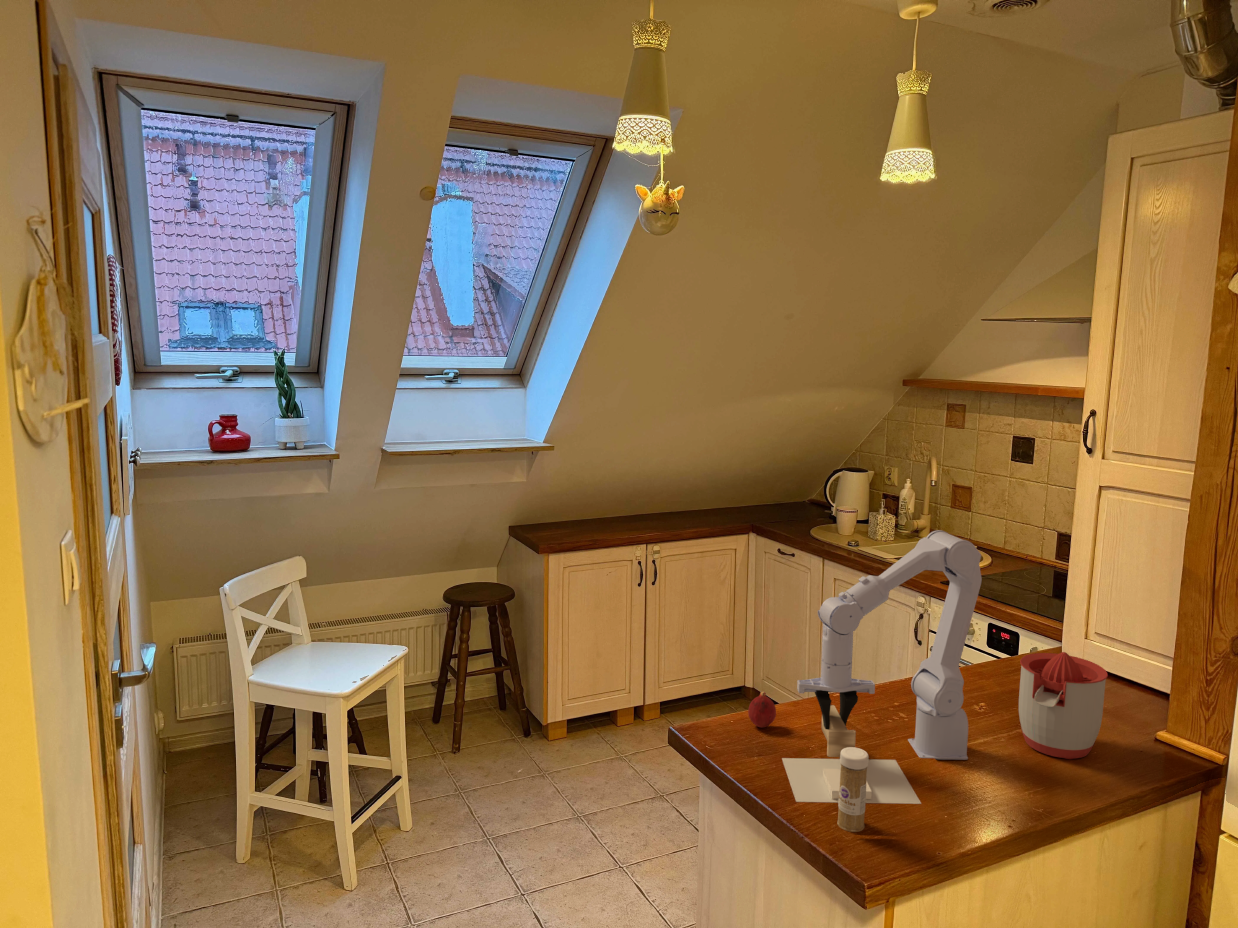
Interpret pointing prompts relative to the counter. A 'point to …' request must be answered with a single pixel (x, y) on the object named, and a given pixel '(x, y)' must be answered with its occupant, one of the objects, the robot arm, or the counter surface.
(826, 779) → the tile
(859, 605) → the robot arm
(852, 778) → the sprinkles bottle
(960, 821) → the counter surface
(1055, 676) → the citrus juicer
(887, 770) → the mat
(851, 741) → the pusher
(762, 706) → the onion
